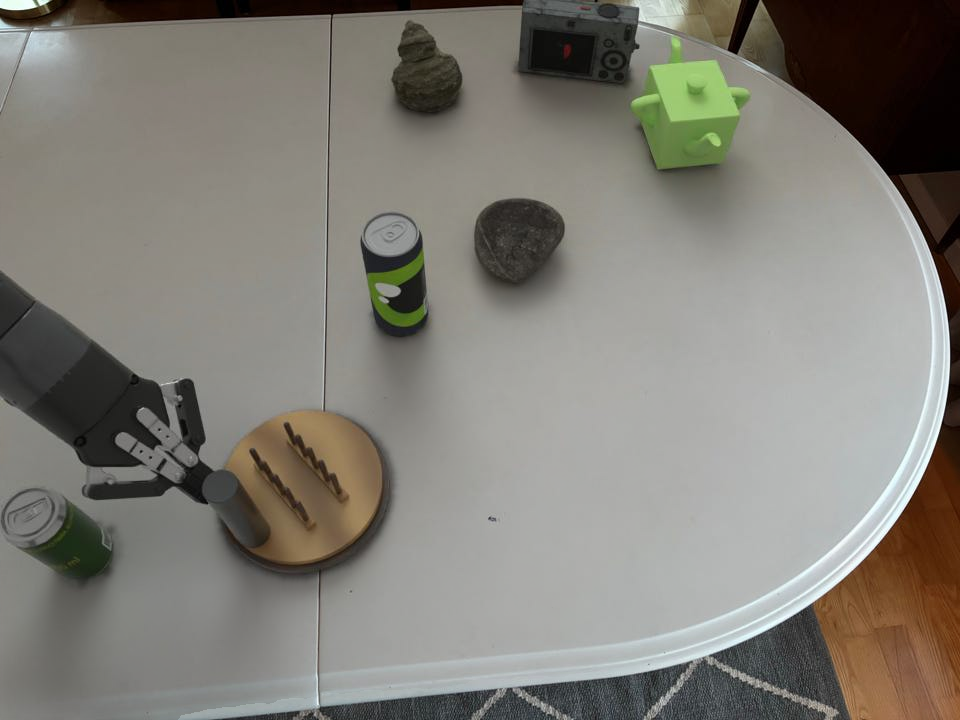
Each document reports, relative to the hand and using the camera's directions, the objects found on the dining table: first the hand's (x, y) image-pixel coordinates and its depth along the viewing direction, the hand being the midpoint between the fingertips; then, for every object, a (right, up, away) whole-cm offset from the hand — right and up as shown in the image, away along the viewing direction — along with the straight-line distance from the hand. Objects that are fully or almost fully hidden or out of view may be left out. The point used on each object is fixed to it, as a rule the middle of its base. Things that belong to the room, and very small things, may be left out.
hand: (218, 496), depth 70 cm
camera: (+37, +53, +43) cm, 78 cm away
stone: (+28, +25, +26) cm, 46 cm away
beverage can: (+14, +17, +21) cm, 31 cm away
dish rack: (+6, 0, +9) cm, 11 cm away
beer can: (-15, -7, +7) cm, 18 cm away
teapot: (+50, +41, +36) cm, 74 cm away
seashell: (+16, +48, +39) cm, 64 cm away
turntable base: (+6, -1, +10) cm, 12 cm away
